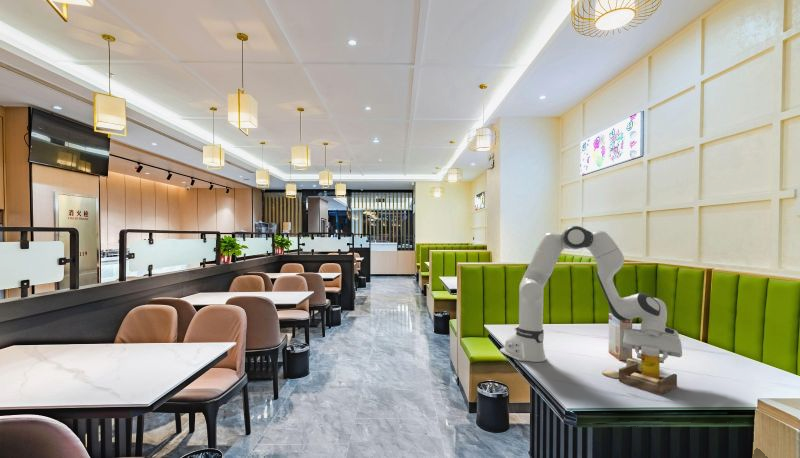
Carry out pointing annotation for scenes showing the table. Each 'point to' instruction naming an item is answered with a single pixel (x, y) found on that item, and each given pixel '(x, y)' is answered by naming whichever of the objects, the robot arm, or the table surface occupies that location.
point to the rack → (663, 384)
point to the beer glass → (650, 361)
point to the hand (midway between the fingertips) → (650, 360)
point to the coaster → (611, 374)
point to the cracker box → (618, 338)
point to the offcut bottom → (645, 378)
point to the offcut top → (632, 361)
